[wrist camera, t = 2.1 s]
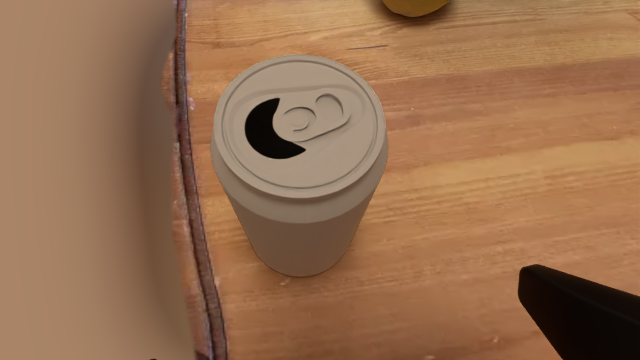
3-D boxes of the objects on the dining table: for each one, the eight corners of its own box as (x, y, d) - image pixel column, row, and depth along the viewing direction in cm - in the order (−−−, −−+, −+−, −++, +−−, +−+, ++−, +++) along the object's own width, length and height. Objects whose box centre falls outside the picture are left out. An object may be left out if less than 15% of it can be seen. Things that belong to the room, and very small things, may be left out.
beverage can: (235, 203, 23) (175, 75, 12) (325, 167, 24) (344, 24, 13) (272, 297, 21) (238, 244, 10) (369, 252, 22) (435, 161, 11)
